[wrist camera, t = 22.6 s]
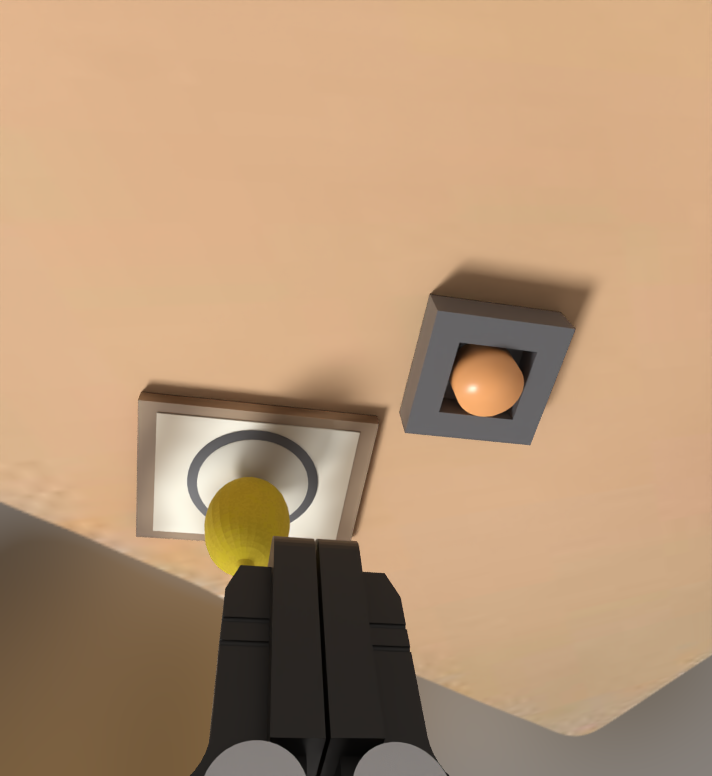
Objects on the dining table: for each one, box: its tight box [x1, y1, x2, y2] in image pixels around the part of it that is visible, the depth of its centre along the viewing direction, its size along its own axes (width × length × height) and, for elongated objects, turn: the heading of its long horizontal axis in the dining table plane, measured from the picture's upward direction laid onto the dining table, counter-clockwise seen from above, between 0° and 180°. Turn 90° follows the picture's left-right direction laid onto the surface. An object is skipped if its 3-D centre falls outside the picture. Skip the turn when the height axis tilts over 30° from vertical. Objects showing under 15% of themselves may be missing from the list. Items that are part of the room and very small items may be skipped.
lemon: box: [204, 477, 290, 576], centre depth 42 cm, size 6×6×8 cm
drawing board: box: [136, 392, 379, 541], centre depth 46 cm, size 16×12×1 cm
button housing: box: [399, 294, 575, 445], centre depth 42 cm, size 9×9×2 cm
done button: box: [449, 344, 524, 417], centre depth 42 cm, size 4×4×2 cm
